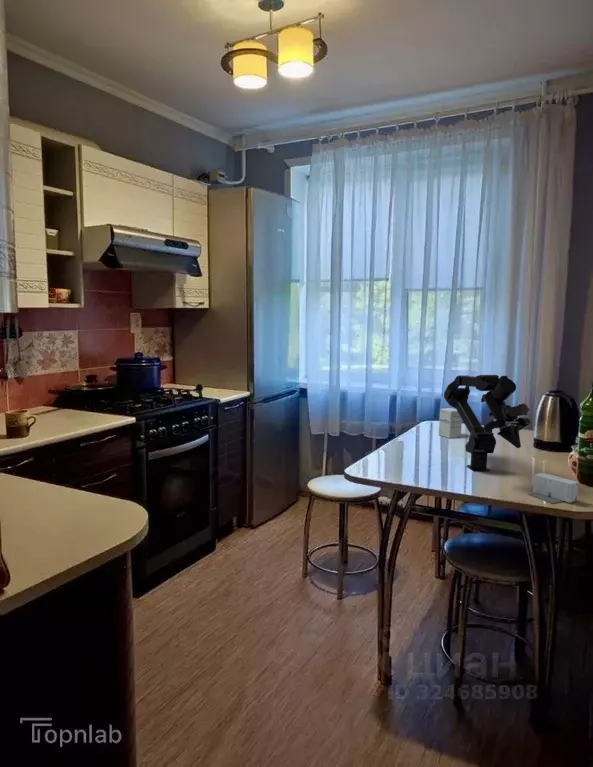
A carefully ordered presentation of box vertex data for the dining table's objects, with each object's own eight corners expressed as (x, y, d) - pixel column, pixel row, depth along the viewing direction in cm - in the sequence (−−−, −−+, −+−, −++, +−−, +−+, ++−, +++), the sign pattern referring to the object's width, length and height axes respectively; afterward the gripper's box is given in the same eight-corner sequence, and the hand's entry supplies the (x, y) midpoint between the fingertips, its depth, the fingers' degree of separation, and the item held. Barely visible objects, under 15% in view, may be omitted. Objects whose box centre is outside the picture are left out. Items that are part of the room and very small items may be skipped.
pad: (528, 494, 176) (528, 493, 176) (546, 491, 180) (547, 490, 180) (552, 503, 168) (552, 502, 168) (571, 500, 172) (571, 499, 172)
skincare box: (533, 474, 177) (570, 483, 167) (542, 472, 179) (579, 481, 169) (532, 493, 178) (569, 503, 168) (541, 490, 180) (577, 500, 170)
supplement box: (438, 435, 259) (439, 408, 257) (450, 434, 262) (451, 407, 261) (449, 438, 253) (450, 411, 251) (461, 437, 256) (463, 410, 254)
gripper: (498, 394, 181) (521, 437, 174) (531, 394, 192) (554, 435, 185) (474, 412, 189) (495, 453, 182) (507, 410, 200) (528, 450, 193)
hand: (519, 447), depth 185 cm, fingers closed
